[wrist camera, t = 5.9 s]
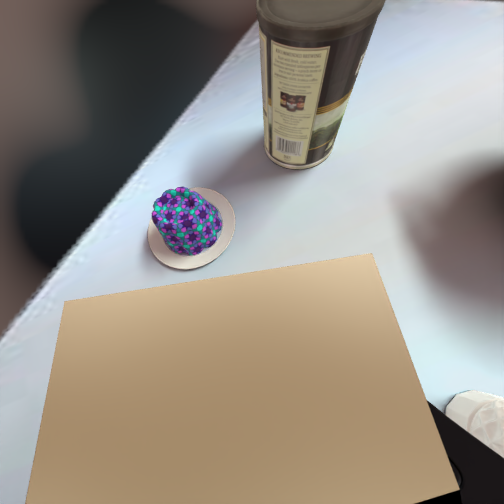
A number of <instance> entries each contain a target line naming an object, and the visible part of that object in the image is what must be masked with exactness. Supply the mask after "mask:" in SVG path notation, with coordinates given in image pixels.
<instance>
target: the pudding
mask: <svg viewBox="0 0 504 504" xmlns="http://www.w3.org/2000/svg"><path fill="white" fill-rule="evenodd" d="M210 203H211V204H210ZM212 204H213V205H214V206H215V207H216V208H217V209H218V210H219V212H220V214H221V216H222V220H223V227H222V222H221V220H220V219H219V218H218V217H217V216H218V211H217V209H216V208H215V207H214V206H213V205H212ZM153 208H154V211H153V212H152V218H151V220H150V223H149V227H148V242H149V246H150V249H151V250H152V252H153V254H154V255H155V256H156V258H157V259H158V260H160V261H161V262H162V263H164V264H166V265H168V266H170V267H173V268H177V269H192V268H197V267H200V266H203V265H205V264H207V263H209V262H211V261H213V260H214V259H216V258H217V257H218V256H219V255H220V254H221V253H222V252H223V251H224V250H225V249H226V247H227V246H228V245H229V243H230V241H231V239H232V237H233V234H234V230H235V214H234V211H233V208H232V206H231V204H230V203H229V201H228V200H227V199H226V198H225V197H224V196H223V195H221V194H220V193H218V192H216V191H214V190H211V189H208V188H189V189H188V188H185V187H178V188H176V189H175V190H174V189H169V190H166V191H165V192H164V193H163V194H162V196H161V197H160V198H158V199H156V201H155V202H154V205H153ZM221 227H222V232H221V235H220V237H219V239H218V240H217V235H216V234H217V233H218V232H219V231H220V230H221ZM164 240H165V242H167V243H168V245H169V247H170V248H171V250H173V251H174V252H175V253H174V252H173V251H171V250H170V249H169V248H168V247H167V245H166V244H165V242H164ZM216 240H217V242H216V243H215V241H216ZM214 243H215V244H214ZM213 244H214V245H213ZM212 245H213V246H212ZM211 246H212V247H211ZM207 247H211V248H210V249H208V250H207V251H205V252H203V253H201V254H199V253H200V252H201V251H202V250H203V248H207ZM183 252H186V253H187V254H189V255H195V256H182V255H178V254H180V253H183ZM176 253H178V254H176ZM196 254H198V255H196Z"/></svg>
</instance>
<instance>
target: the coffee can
mask: <svg viewBox="0 0 504 504" xmlns="http://www.w3.org/2000/svg"><path fill="white" fill-rule="evenodd" d="M384 3H385V0H257V2H256V12H257V19H258V22H259V39H260V59H261V79H262V98H263V119H264V148H265V151H266V154H267V155H268V157H269V158H270V159H271V160H272V161H273V162H274V163H276V164H278V165H280V166H282V167H285V168H289V169H306V168H310V167H313V166H316V165H318V164H320V163H321V162H323V161H324V160H325V159H326V158H327V157H328V156H329V155H330V153H331V151H332V149H333V145H334V141H335V138H336V136H337V133H338V129H339V127H340V124H341V121H342V118H343V115H344V112H345V109H346V106H347V103H348V101H349V98H350V95H351V92H352V89H353V86H354V83H355V81H356V78H357V75H358V72H359V69H360V66H361V64H362V61H363V58H364V55H365V52H366V49H367V46H368V43H369V41H370V38H371V35H372V32H373V29H374V26H375V24H376V21H377V18H378V15H379V13H380V12H381V10H382V8H383V6H384Z"/></svg>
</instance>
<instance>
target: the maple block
mask: <svg viewBox="0 0 504 504" xmlns="http://www.w3.org/2000/svg"><path fill="white" fill-rule="evenodd" d="M25 504H462V500H461V494H460V489H459V486H458V483H457V481H456V478H455V475H454V473H453V470H452V467H451V465H450V462H449V459H448V457H447V454H446V451H445V448H444V446H443V443H442V440H441V438H440V435H439V432H438V430H437V427H436V424H435V422H434V419H433V416H432V413H431V411H430V408H429V405H428V403H427V400H426V397H425V395H424V392H423V389H422V387H421V384H420V381H419V379H418V376H417V373H416V370H415V368H414V365H413V362H412V360H411V357H410V354H409V352H408V349H407V346H406V344H405V341H404V338H403V335H402V333H401V330H400V327H399V325H398V322H397V319H396V317H395V314H394V311H393V309H392V306H391V303H390V300H389V298H388V295H387V292H386V290H385V287H384V284H383V282H382V279H381V276H380V274H379V271H378V268H377V265H376V263H375V260H374V257H373V255H372V253H370V254H364V255H357V256H351V257H345V258H338V259H332V260H326V261H319V262H313V263H306V264H300V265H294V266H287V267H281V268H275V269H268V270H262V271H255V272H249V273H243V274H236V275H230V276H223V277H217V278H211V279H204V280H198V281H192V282H185V283H179V284H172V285H166V286H160V287H153V288H147V289H141V290H134V291H128V292H121V293H115V294H109V295H102V296H96V297H90V298H83V299H77V300H70V301H65V302H64V307H63V313H62V318H61V323H60V328H59V333H58V338H57V343H56V348H55V353H54V359H53V364H52V369H51V374H50V379H49V384H48V389H47V394H46V400H45V405H44V410H43V415H42V420H41V425H40V430H39V435H38V441H37V446H36V451H35V456H34V461H33V466H32V471H31V476H30V481H29V487H28V492H27V497H26V502H25Z"/></svg>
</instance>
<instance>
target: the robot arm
mask: <svg viewBox="0 0 504 504" xmlns="http://www.w3.org/2000/svg"><path fill="white" fill-rule="evenodd" d="M427 403H428V405H429V408H430V411H431V413H432V416H433V419H434V422H435V424H436V427H437V430H438V432H439V435H440V438H441V440H442V443H443V446H444V448H445V451H446V454H447V457H448V459H449V462H450V465H451V467H452V470H453V473H454V475H455V478H456V481H457V483H458V486H459V489H460V494H461V500H462V504H504V458H503V457H502V456H500V455H499V454H498V453H496V452H495V451H493V450H492V449H491V448H489V447H488V446H487V445H485V444H484V443H482V442H481V441H480V440H478V439H477V438H476V437H474V436H473V435H471V434H470V433H469V432H467V431H466V430H465V429H463V428H462V427H461V426H459V425H458V424H457V423H455V422H454V421H453V420H451V419H450V418H449V417H447V416H446V415H445V414H443V413H442V412H441V411H440V410H438V409H437V408H436V407H435V406H433V405H432V404H431V403H430V402H428V401H427Z"/></svg>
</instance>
